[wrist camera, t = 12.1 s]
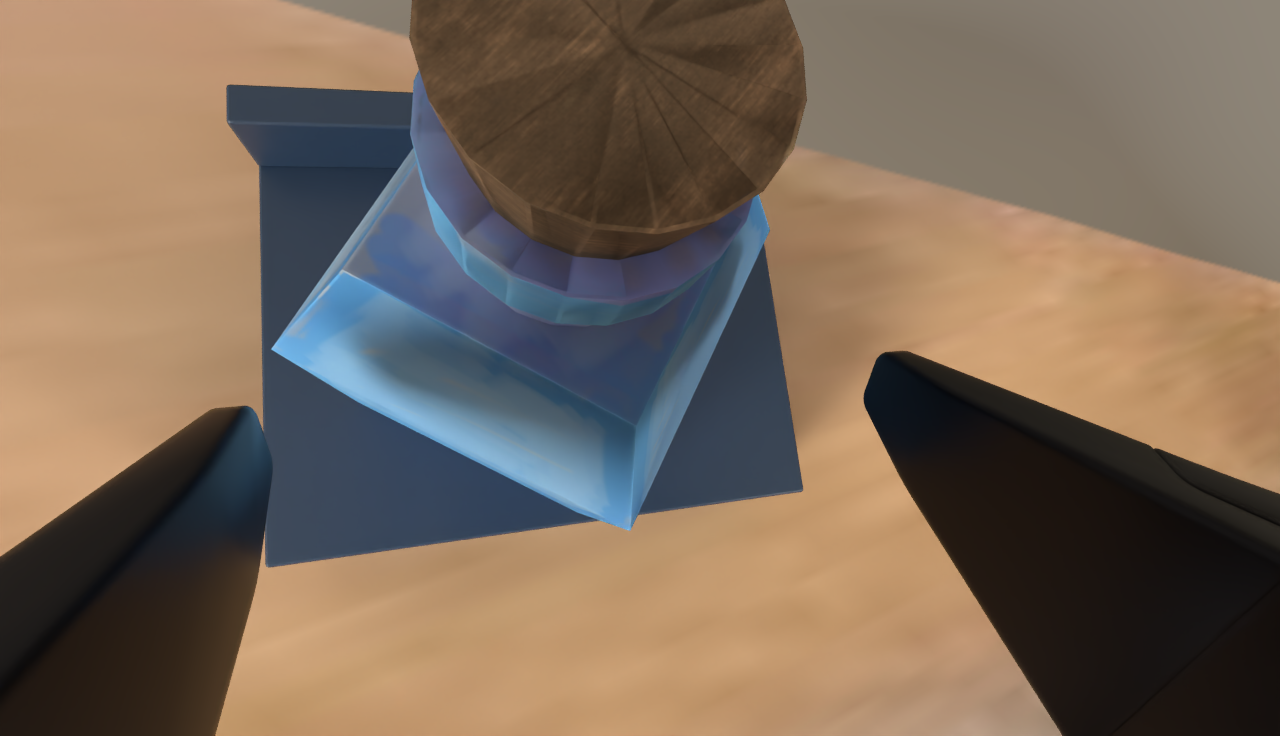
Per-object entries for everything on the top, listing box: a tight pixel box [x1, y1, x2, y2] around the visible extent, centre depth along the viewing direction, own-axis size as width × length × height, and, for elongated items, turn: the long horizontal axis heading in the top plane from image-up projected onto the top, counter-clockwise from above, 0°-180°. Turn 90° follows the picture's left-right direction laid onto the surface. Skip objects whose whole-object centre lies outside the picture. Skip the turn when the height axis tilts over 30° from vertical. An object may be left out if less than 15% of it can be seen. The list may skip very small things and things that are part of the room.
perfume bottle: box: [271, 0, 807, 531], centre depth 10 cm, size 6×6×12 cm
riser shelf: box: [227, 85, 803, 567], centre depth 18 cm, size 11×14×6 cm
